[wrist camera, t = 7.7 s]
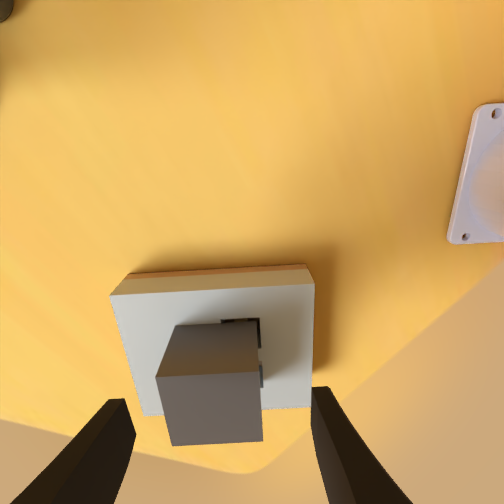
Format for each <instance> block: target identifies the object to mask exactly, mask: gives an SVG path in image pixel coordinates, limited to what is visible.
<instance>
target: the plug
mask: <svg viewBox="0 0 504 504" xmlns="http://www.w3.org/2000/svg"><path fill="white" fill-rule="evenodd" d="M155 379H156V383H157V387H158V391H159V395H160V399H161V403H162V407H163V411H164V416H165V420H166V424H167V428H168V432H169V436H170V440H171V444H172V446H186V445H204V444H223V443H241V442H260V441H263V429H262V410H261V391H260V373H259V357H258V341H257V324H256V321H248V319H247V318H239V319H235V321H234V322H231V323H213V324H196V325H178V326H175V327H174V330H173V332H172V335H171V337H170V340H169V343H168V345H167V348H166V350H165V353H164V355H163V358H162V361H161V363H160V366H159V368H158V371H157V374H156V376H155Z"/></svg>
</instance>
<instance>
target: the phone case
mask: <svg viewBox="0 0 504 504" xmlns="http://www.w3.org/2000/svg"><path fill="white" fill-rule="evenodd" d="M13 2H14V1H13V0H0V22H2V21H4V20H5V19H6V18H7V17H8V16H9V15H10V13H11V11H12V8H13Z"/></svg>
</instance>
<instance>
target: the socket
mask: <svg viewBox="0 0 504 504" xmlns="http://www.w3.org/2000/svg"><path fill="white" fill-rule="evenodd" d="M314 296H315V283H314V281H313V279H312V277H311V274H310V272H309V270H308V268H307V266H306V264H293V265H276V266H259V267H241V268H224V269H207V270H190V271H172V272H155V273H138V274H128V275H127V276H126V277H125V278H124V279H123V280H122V282H121V283H120V284H119V285H118V286H117V287H116V288H115V290H114V291H113V292H112V293H111V294H110V295H109V297H110V300H111V304H112V307H113V311H114V314H115V318H116V321H117V325H118V328H119V332H120V335H121V339H122V342H123V346H124V349H125V353H126V356H127V359H128V363H129V366H130V370H131V373H132V377H133V380H134V384H135V387H136V391H137V394H138V398H139V401H140V405H141V408H142V412H143V415H144V416H157V415H164V411H163V407H162V403H161V399H160V395H159V391H158V387H157V383H156V379H155V376H156V374H157V371H158V368H159V366H160V363H161V361H162V358H163V355H164V353H165V350H166V348H167V345H168V343H169V340H170V337H171V335H172V332H173V330H174V327H175V326H178V325H196V324H213V323H231V322H234V321H235V319H239V318H247V319H248V321H256V324H257V341H258V357H259V373H260V391H261V410H267V409H285V408H303V407H311V387H312V358H313V327H314Z"/></svg>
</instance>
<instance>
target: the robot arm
mask: <svg viewBox="0 0 504 504" xmlns="http://www.w3.org/2000/svg"><path fill="white" fill-rule="evenodd" d="M493 110H495V116H494V117H493V118H492V112H493ZM465 233H466V235H465V237H464V238H462V236H463V235H464V234H465ZM447 241H448V242H450V243H452V244H473V243H490V242H504V103H493V104H484V105H481V106H479V107H478V108H477V109H476V110H475V111H474V114H473V117H472V122H471V126H470V131H469V136H468V140H467V145H466V149H465V154H464V158H463V163H462V168H461V172H460V177H459V181H458V186H457V191H456V195H455V200H454V204H453V209H452V213H451V218H450V223H449V227H448V232H447ZM311 429H312V435H313V440H314V445H315V451H316V456H317V460H318V464H319V468H320V471H321V475H322V478H323V482H324V486H325V490H326V493H327V497H328V501H329V504H413V503H412V502H411V501H410V500H409V498H408V497H407V496H406V495H405V494H404V493H403V491H402V490H401V489H400V488H399V487H398V486H397V484H396V483H395V482H394V481H393V479H392V478H391V477H390V476H389V474H388V473H387V472H386V470H385V469H384V468H383V467H382V466H381V464H380V463H379V461H378V460H377V459H376V458H375V456H374V455H373V453H372V452H371V451H370V449H369V448H368V447H367V445H366V444H365V442H364V441H363V440H362V438H361V437H360V435H359V434H358V433H357V431H356V430H355V428H354V427H353V425H352V424H351V422H350V421H349V419H348V418H347V416H346V415H345V413H344V412H343V410H342V408H341V407H340V405H339V403H338V402H337V400H336V398H335V396H334V395H333V393H332V391H331V389H330V388H329V387H328V386H324V387H311ZM135 438H136V432H135V429H134V426H133V423H132V420H131V417H130V414H129V411H128V408H127V405H126V402H125V399H124V398H123V399H109V400H108V401H107V402H106V403H105V404H104V405H103V406H102V407H101V408H100V410H99V411H98V412H97V413H96V414H95V415H94V416H93V417H92V418H91V419H90V421H89V422H88V423H87V424H86V425H85V426H84V427H83V428H82V429H81V431H80V432H79V433H78V434H77V435H76V436H75V437H74V438H73V439H72V441H71V442H70V443H69V444H68V445H67V446H66V447H65V448H64V449H63V450H62V451H61V452H60V453H59V455H58V456H57V457H56V458H55V459H54V460H53V461H52V462H51V463H50V464H49V465H48V466H47V467H46V468H45V469H44V470H43V471H42V472H41V473H40V474H39V475H38V476H37V477H36V478H35V479H34V480H33V481H32V483H31V484H30V485H29V486H28V487H27V488H26V489H25V490H24V491H23V492H22V493H21V494H19V496H17V497H16V498H15V499H14V500H13V501H12V503H10V504H114V502H115V499H116V497H117V494H118V491H119V489H120V486H121V483H122V481H123V478H124V475H125V473H126V470H127V467H128V464H129V461H130V457H131V453H132V450H133V446H134V442H135Z"/></svg>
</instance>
